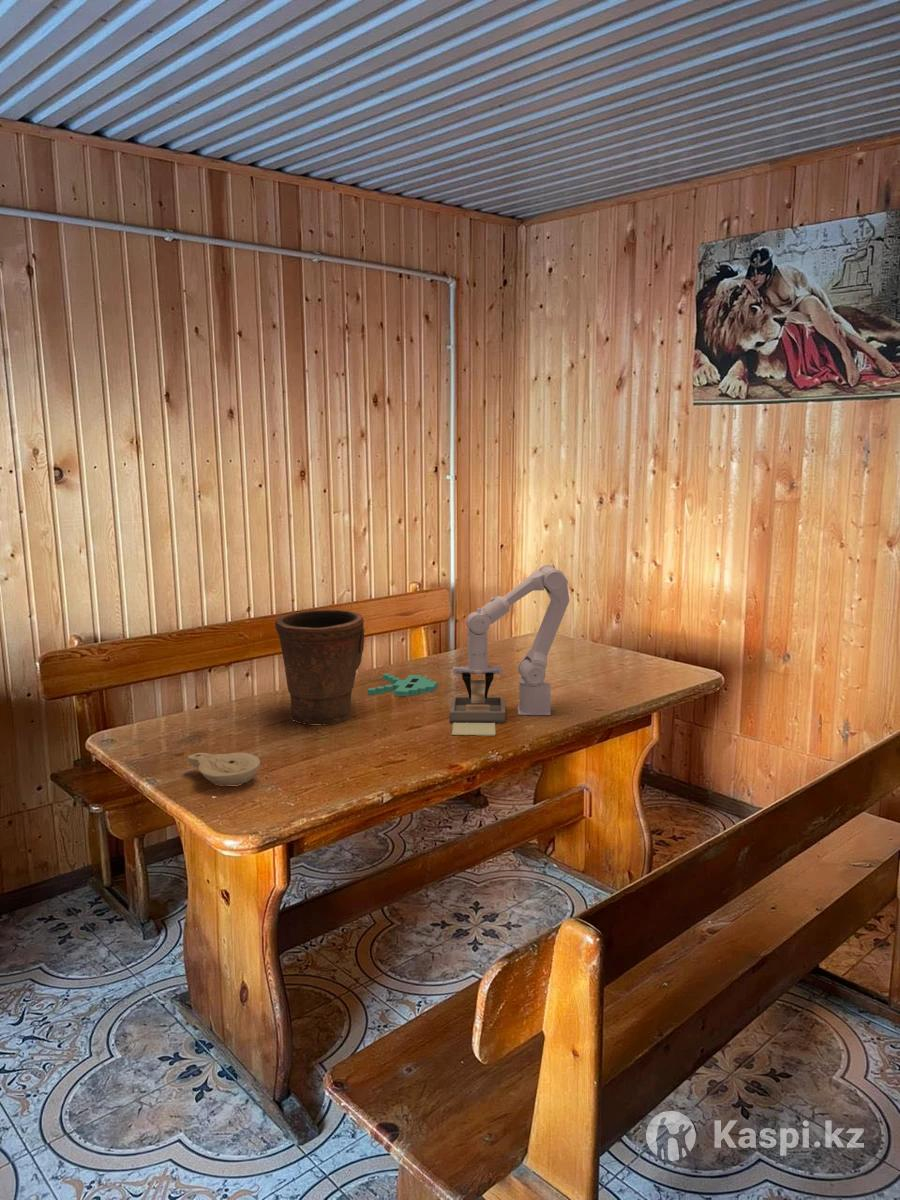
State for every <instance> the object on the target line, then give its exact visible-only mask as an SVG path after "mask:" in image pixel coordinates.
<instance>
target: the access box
mask: <svg viewBox="0 0 900 1200" xmlns="http://www.w3.org/2000/svg"><path fill="white" fill-rule="evenodd" d="M505 701H506V700H505V696H489V695H487V699H485V703H471V699H469V695H467V696H459V695H458V696H457V695H455V696H454V695H452V696H451V702H450V707H449V709H450V710H449V724H453V723H455V722H456V723H466V722H468V723H495V724H506V704H505V703H506V702H505Z"/></svg>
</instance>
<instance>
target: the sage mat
mask: <svg viewBox="0 0 900 1200" xmlns="http://www.w3.org/2000/svg"><path fill="white" fill-rule="evenodd" d="M452 735H476V736H475V737H483V736H484V737H496V723H452V731H451V736H452Z"/></svg>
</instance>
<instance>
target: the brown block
mask: <svg viewBox="0 0 900 1200" xmlns="http://www.w3.org/2000/svg"><path fill="white" fill-rule="evenodd" d="M471 703H485V679H471Z"/></svg>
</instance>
